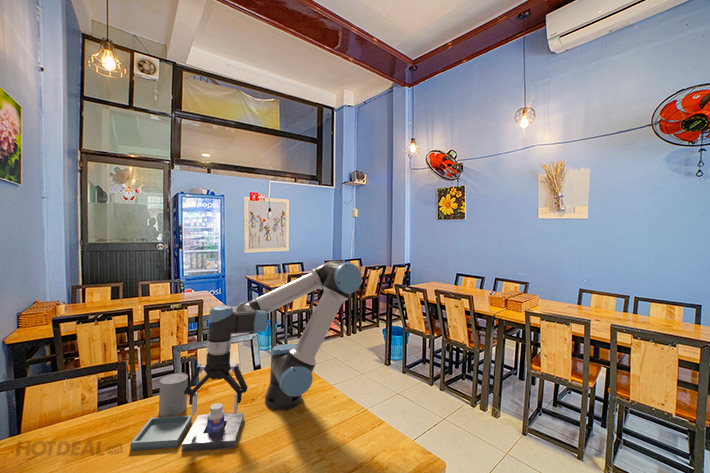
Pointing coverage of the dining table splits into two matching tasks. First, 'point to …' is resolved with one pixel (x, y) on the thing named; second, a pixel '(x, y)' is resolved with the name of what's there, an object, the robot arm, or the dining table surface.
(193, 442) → the socket plate
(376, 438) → the dining table surface
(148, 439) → the tray
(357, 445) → the dining table surface
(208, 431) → the pill bottle
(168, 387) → the gray cylinder
